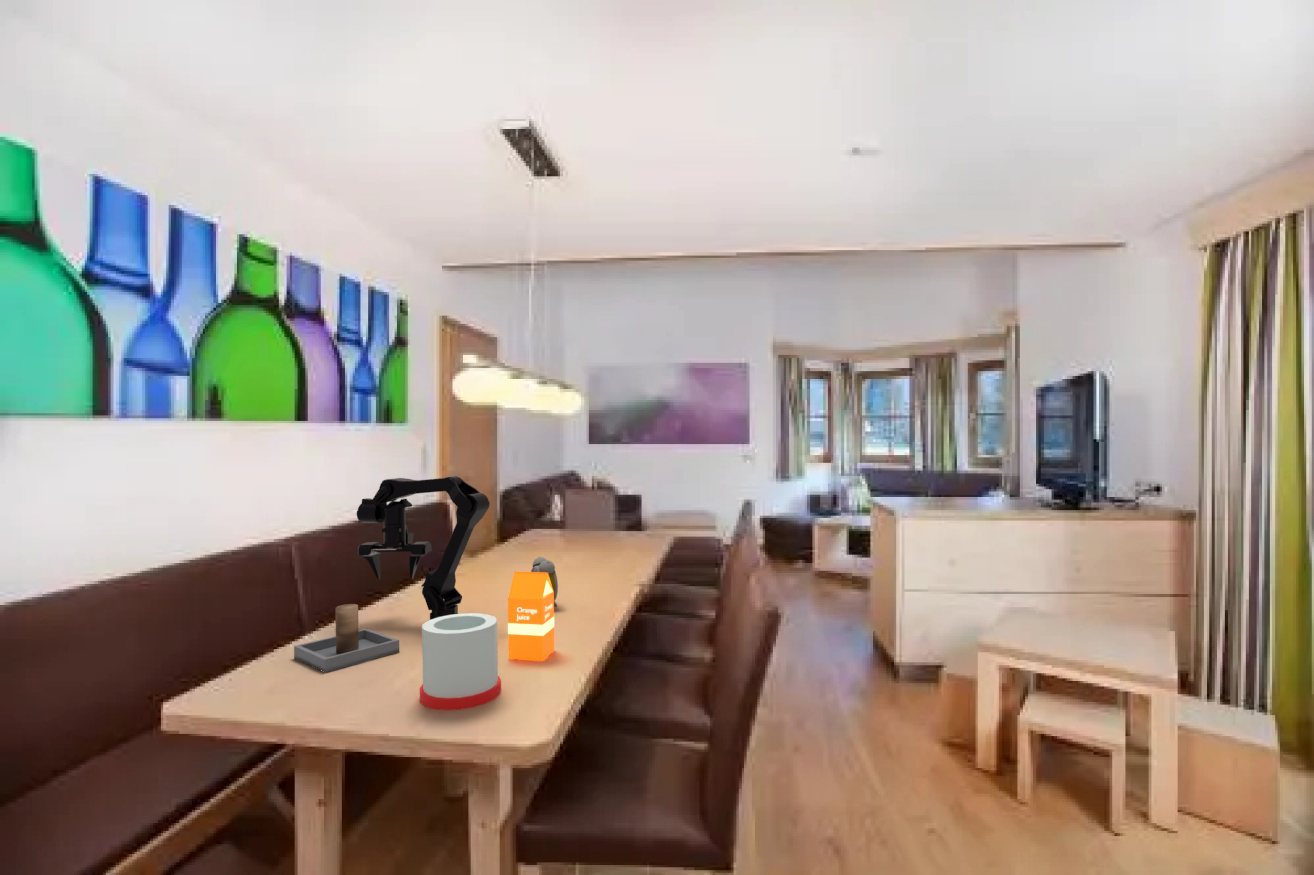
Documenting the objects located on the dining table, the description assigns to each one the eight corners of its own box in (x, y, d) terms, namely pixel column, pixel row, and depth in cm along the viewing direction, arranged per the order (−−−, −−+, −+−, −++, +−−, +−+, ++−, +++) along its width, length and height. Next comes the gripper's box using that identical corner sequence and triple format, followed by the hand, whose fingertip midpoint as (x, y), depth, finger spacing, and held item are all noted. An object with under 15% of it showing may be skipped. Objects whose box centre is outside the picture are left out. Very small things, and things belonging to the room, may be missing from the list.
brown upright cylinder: (363, 650, 165) (362, 605, 165) (346, 656, 160) (346, 610, 160) (348, 647, 167) (347, 603, 167) (331, 653, 162) (330, 608, 162)
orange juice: (543, 661, 158) (542, 576, 157) (508, 659, 159) (506, 574, 159) (555, 650, 165) (553, 569, 165) (521, 648, 167) (520, 568, 167)
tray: (366, 640, 176) (366, 628, 176) (399, 652, 166) (399, 639, 165) (294, 658, 162) (294, 645, 162) (324, 672, 152) (324, 659, 152)
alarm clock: (529, 604, 210) (529, 556, 210) (550, 602, 213) (550, 554, 213) (541, 613, 200) (541, 562, 200) (563, 610, 203) (562, 560, 203)
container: (470, 674, 150) (469, 608, 150) (517, 691, 140) (516, 620, 139) (404, 696, 137) (403, 625, 137) (449, 717, 127) (448, 639, 127)
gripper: (437, 519, 196) (438, 572, 197) (373, 520, 197) (374, 573, 197) (424, 524, 185) (424, 581, 185) (356, 525, 185) (357, 582, 185)
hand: (395, 579), depth 189 cm, fingers open, 9 cm apart
